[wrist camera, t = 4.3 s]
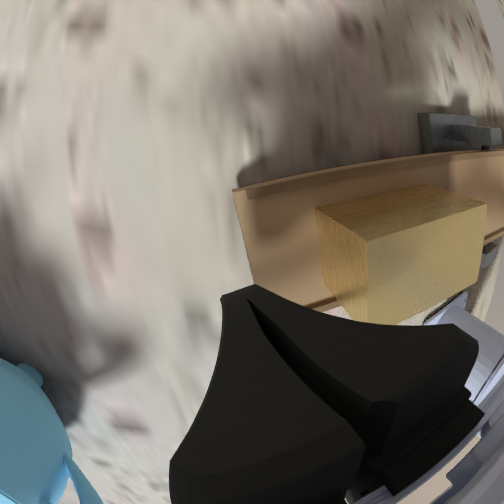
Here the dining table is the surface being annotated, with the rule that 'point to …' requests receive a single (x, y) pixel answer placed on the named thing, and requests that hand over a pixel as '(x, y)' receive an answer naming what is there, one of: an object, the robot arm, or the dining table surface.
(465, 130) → the pivot stand
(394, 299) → the block
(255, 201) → the beam
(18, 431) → the teapot
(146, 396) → the dining table surface
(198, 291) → the dining table surface
